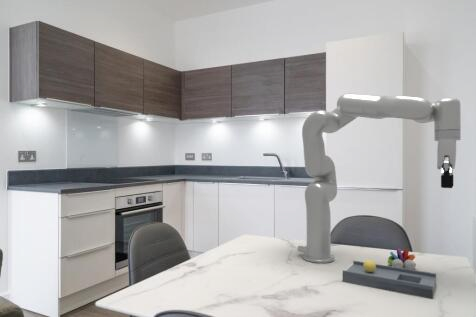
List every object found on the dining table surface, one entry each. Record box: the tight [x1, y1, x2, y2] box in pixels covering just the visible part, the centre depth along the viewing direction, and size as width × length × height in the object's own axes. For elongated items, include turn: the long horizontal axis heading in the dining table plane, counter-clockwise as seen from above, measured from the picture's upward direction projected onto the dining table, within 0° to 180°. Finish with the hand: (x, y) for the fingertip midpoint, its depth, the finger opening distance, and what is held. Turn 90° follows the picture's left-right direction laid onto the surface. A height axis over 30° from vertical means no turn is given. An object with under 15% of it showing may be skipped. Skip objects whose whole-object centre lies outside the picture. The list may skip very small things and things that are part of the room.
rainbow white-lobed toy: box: [387, 247, 417, 270], centre depth 129 cm, size 8×10×7 cm
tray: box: [342, 260, 437, 300], centre depth 113 cm, size 26×14×4 cm, turn 57°
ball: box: [363, 259, 376, 272], centre depth 116 cm, size 4×4×4 cm
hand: (447, 186), depth 116 cm, fingers open, 9 cm apart
